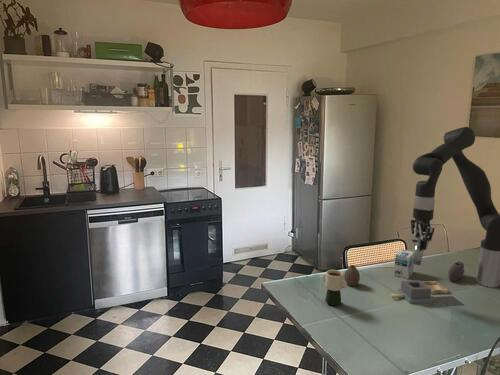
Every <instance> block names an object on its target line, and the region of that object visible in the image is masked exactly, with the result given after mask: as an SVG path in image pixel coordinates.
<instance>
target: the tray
mask: <svg viewBox="0 0 500 375" xmlns="http://www.w3.org/2000/svg"><path fill="white" fill-rule="evenodd" d="M422 282H423V283H424V284H425V285H427V286H428V287H429V288H431V294H449V290H450V289H448V288H447V287H445V286H444V285H442V283H440V282H439V281H437V280H434V281H433V280H432V281H431V280H430V281H429V280H427V281H422Z"/></svg>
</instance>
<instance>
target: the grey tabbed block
mask: <svg viewBox="0 0 500 375" xmlns="http://www.w3.org/2000/svg"><path fill="white" fill-rule="evenodd" d="M411 243H412V244H413V245H414V244H415V245H414V250H413V252H414V254H413V260H412V263H413V264H414V265H417V266H421V265H422V261H423V255H424V250H421V249H420V246H421V236H420V237H419V236H414V235H413V238H412V239H411ZM429 243H430V241H427V248H428V246H429Z"/></svg>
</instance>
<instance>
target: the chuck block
mask: <svg viewBox="0 0 500 375" xmlns="http://www.w3.org/2000/svg"><path fill="white" fill-rule="evenodd" d="M423 282H424V281H422V280H420V279H419V280H418V279H417V280H401V283H400V284H401V285H400V288H397V294H395V293H393V294H391V298H393V299H397V298H398V299H399V298H402V299H404V300H405V301H406V302H407V303H408V304H434V303H433V302H434V298H433V297H432V295H431V288H429V287H428V286H427V285H425V284H424V283H423Z"/></svg>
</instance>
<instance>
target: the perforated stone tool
mask: <svg viewBox="0 0 500 375" xmlns="http://www.w3.org/2000/svg"><path fill="white" fill-rule="evenodd" d="M464 264H465V263H463V262H461V261H456V262H455V263H452V265H451V266H450V268H449V269H448V270H449V271H448V274H447V276H448V277H447V278H448V281H449V282H451V283H452V282H456V281H458V280H459V279H461V278H462V277H463V275H464V274H465V269H464V267H465V265H464Z"/></svg>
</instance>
